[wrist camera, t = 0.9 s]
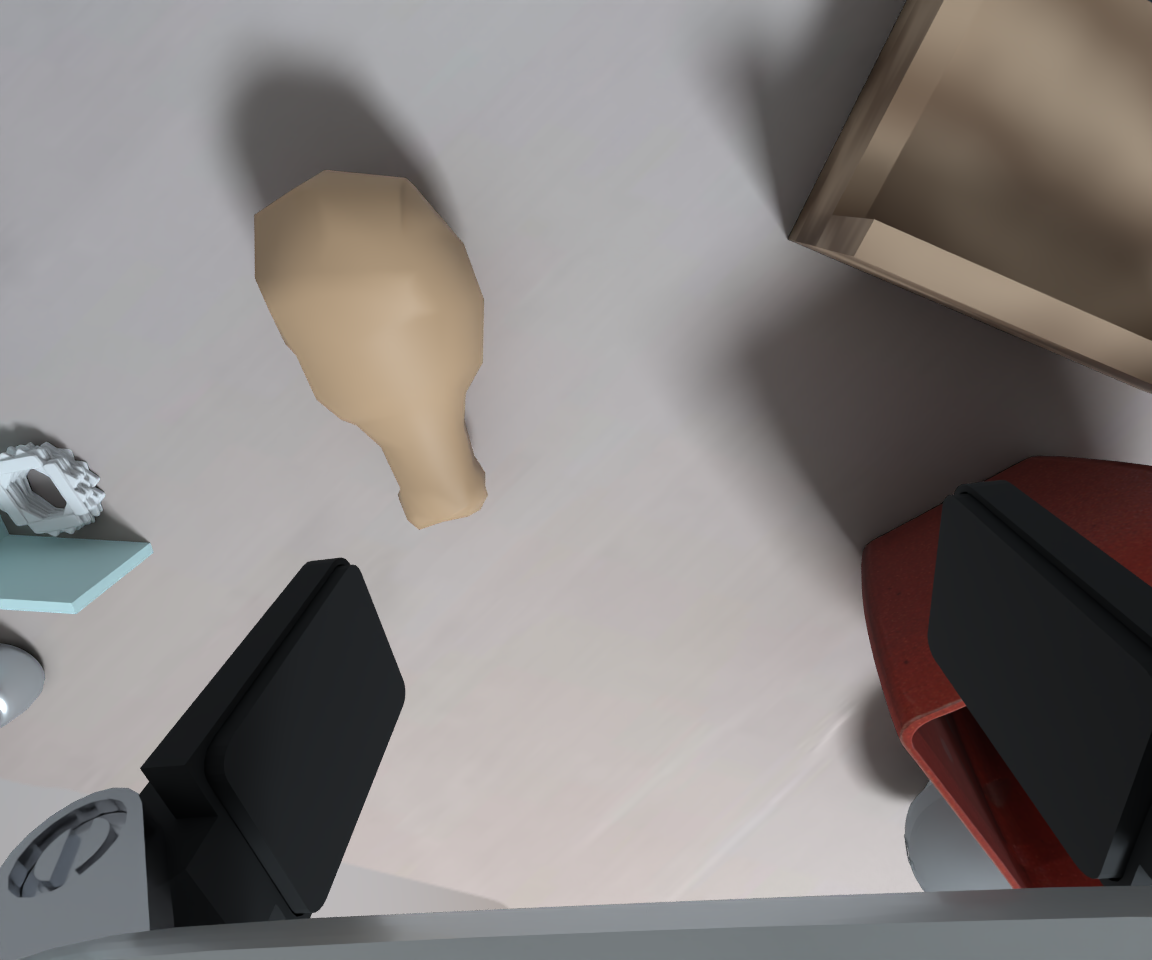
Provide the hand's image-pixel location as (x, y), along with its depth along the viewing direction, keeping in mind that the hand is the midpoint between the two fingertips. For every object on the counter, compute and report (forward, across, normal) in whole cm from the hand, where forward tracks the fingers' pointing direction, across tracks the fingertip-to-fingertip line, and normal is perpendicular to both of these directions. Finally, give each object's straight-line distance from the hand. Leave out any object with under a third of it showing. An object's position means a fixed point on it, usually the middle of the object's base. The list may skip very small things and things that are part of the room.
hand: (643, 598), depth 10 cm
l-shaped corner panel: (+29, +42, +6) cm, 51 cm away
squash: (+29, +12, +1) cm, 31 cm away
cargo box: (+28, -24, -2) cm, 37 cm away
